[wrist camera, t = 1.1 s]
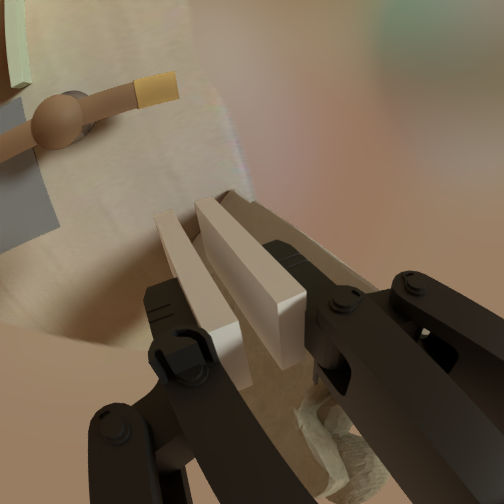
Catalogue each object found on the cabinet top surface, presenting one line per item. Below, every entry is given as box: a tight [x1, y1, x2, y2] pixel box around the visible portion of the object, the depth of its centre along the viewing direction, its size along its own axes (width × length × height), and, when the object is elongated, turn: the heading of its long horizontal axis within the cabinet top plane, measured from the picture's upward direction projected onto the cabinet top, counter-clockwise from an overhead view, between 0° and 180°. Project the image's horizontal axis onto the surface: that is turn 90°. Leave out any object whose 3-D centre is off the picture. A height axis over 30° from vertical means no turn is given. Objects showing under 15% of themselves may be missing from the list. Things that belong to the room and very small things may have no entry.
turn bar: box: [0, 71, 179, 163], centre depth 16 cm, size 4×23×2 cm, turn 96°
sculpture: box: [192, 190, 430, 504], centre depth 24 cm, size 15×8×30 cm, turn 138°
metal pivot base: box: [62, 91, 94, 144], centre depth 19 cm, size 5×5×4 cm
